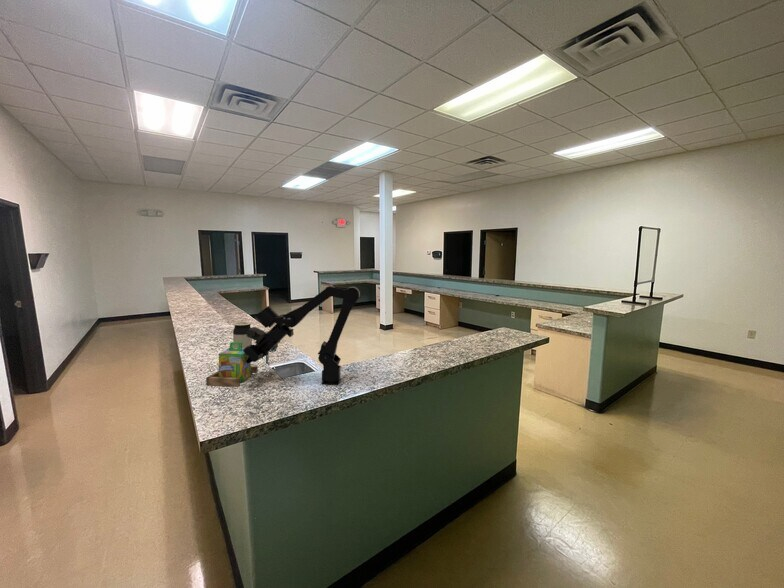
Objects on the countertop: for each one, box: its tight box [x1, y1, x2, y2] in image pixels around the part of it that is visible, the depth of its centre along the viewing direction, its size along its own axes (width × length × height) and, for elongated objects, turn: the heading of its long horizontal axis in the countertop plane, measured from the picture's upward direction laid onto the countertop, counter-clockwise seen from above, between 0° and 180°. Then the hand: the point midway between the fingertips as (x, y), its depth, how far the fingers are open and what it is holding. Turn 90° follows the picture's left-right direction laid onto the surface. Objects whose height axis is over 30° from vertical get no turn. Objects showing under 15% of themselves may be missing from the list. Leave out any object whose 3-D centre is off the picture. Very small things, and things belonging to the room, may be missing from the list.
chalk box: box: [218, 341, 252, 384], centre depth 125 cm, size 9×9×15 cm
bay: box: [205, 365, 259, 388], centre depth 125 cm, size 12×15×3 cm
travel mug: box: [232, 321, 253, 348], centre depth 149 cm, size 8×8×18 cm
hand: (247, 362), depth 125 cm, fingers closed
